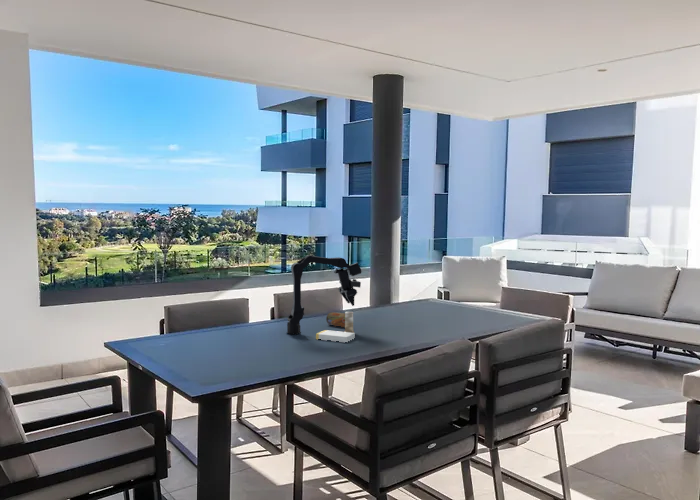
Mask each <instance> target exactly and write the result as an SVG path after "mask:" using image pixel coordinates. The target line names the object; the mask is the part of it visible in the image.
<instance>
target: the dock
mask: <svg viewBox="0 0 700 500" xmlns="http://www.w3.org/2000/svg"><path fill="white" fill-rule="evenodd" d="M355 335H356V333H355V332H354V333H350V332H344V331H337V330H330V329H329V330H328V329H324V330H322V331H318V332H317V333H315V340H318V339H321V340H320V341H327V340H331V341H330V342H336V341H339V342H338V343H345V342H347V343H348V341H349V342H351V341H353V340H355V339H354V338H356V336H355ZM352 339H353V340H352ZM350 340H351V341H350Z"/></svg>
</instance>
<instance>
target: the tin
mask: <svg viewBox="0 0 700 500" xmlns="http://www.w3.org/2000/svg"><path fill="white" fill-rule="evenodd" d="M326 322H327V324H328V325H329V326H330V325H335V326H334V327H336V326H341V327H340V328H345V312H335V311H334V312H329V313H327V315H326Z"/></svg>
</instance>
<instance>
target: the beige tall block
mask: <svg viewBox="0 0 700 500" xmlns="http://www.w3.org/2000/svg"><path fill="white" fill-rule="evenodd" d="M344 313H345V327H344V331H343V332H350V333H355V331H354V311H345V312H344Z"/></svg>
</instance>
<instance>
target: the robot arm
mask: <svg viewBox="0 0 700 500" xmlns="http://www.w3.org/2000/svg"><path fill="white" fill-rule="evenodd" d="M311 263H312V264H313V263H314V264H321V265H330V266H333V267H336V268H335V270H334V272H333V273H334V274H337V275H338V279H339V284H340V285H341V286H339V287H338V292H339V294H340V295H341V296H342V297H343V299H344V300H345V302H346V303H347V304H351V306H352V307H354V306H355V296H356V295H358V290H357V289H356V288H360V289H361V287H362V286H361V283H362V282H361V281H360V280H359V281H358V280H357V279H355V278H352V279H350V276H351V277H354V276H359V275H362V268H361V267H360V265H359V262H355V263H352V264H349V263H347V260H346V259H345V258H343V257H341V256H340V257H339V256H338V257H323V256H315V255H310V254H307V255H305V256H304V257H303V258H301V259H300V260H298V261H297V262H294V263H292V264H291V266H290V270H291V276H292V280H293V284H292V285H293V287H292V288H293V294H292V295H293V296H292V297H293V301H292V302H293V303H292V307H291V312H290V314H289V315H288V317H287V318H286V319H287V322H286V323H287V324H286V325H287V330H286V331H287V332H286V333H289V334H288V335H293V334H296V335H298V333H299V334H301V333H302V332H301V325H300V321H301V320H303V317H304V316H305V307H303V305H302V302H301V301H302V300H301V298H302V297H301V296H302V294H301V293H302V292H301V291H302V288H301V287H302V283H301V282H302V280H301V279H302V276H303V271H304V269H305V268H306V267H308V265H310V264H311ZM338 268H339V269H338Z"/></svg>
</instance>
